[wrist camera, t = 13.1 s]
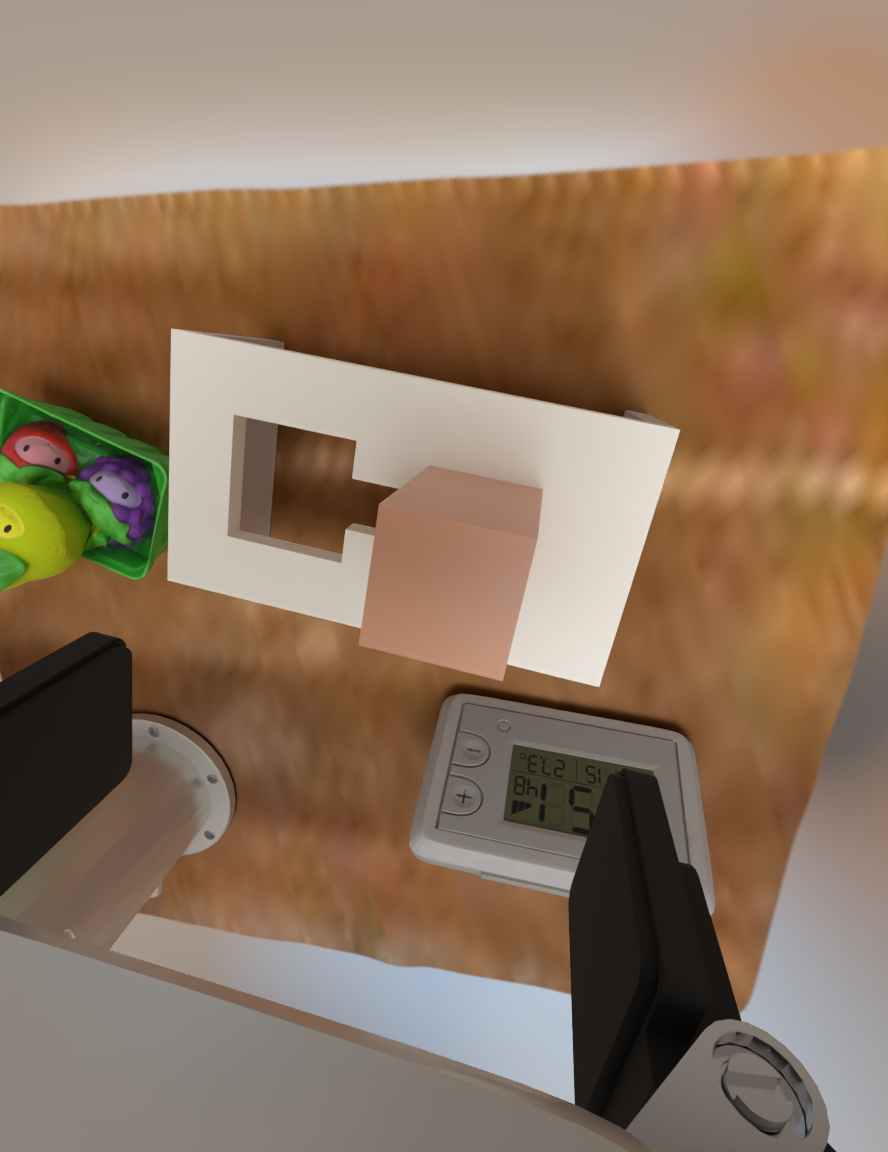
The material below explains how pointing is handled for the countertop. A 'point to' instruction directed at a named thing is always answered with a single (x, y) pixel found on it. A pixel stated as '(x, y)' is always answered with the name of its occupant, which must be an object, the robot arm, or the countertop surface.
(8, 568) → the fruit basket
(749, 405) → the countertop surface
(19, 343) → the countertop surface
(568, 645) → the keyhole board
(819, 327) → the countertop surface
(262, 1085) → the robot arm
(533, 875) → the digital clock
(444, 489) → the peg
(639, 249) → the countertop surface
